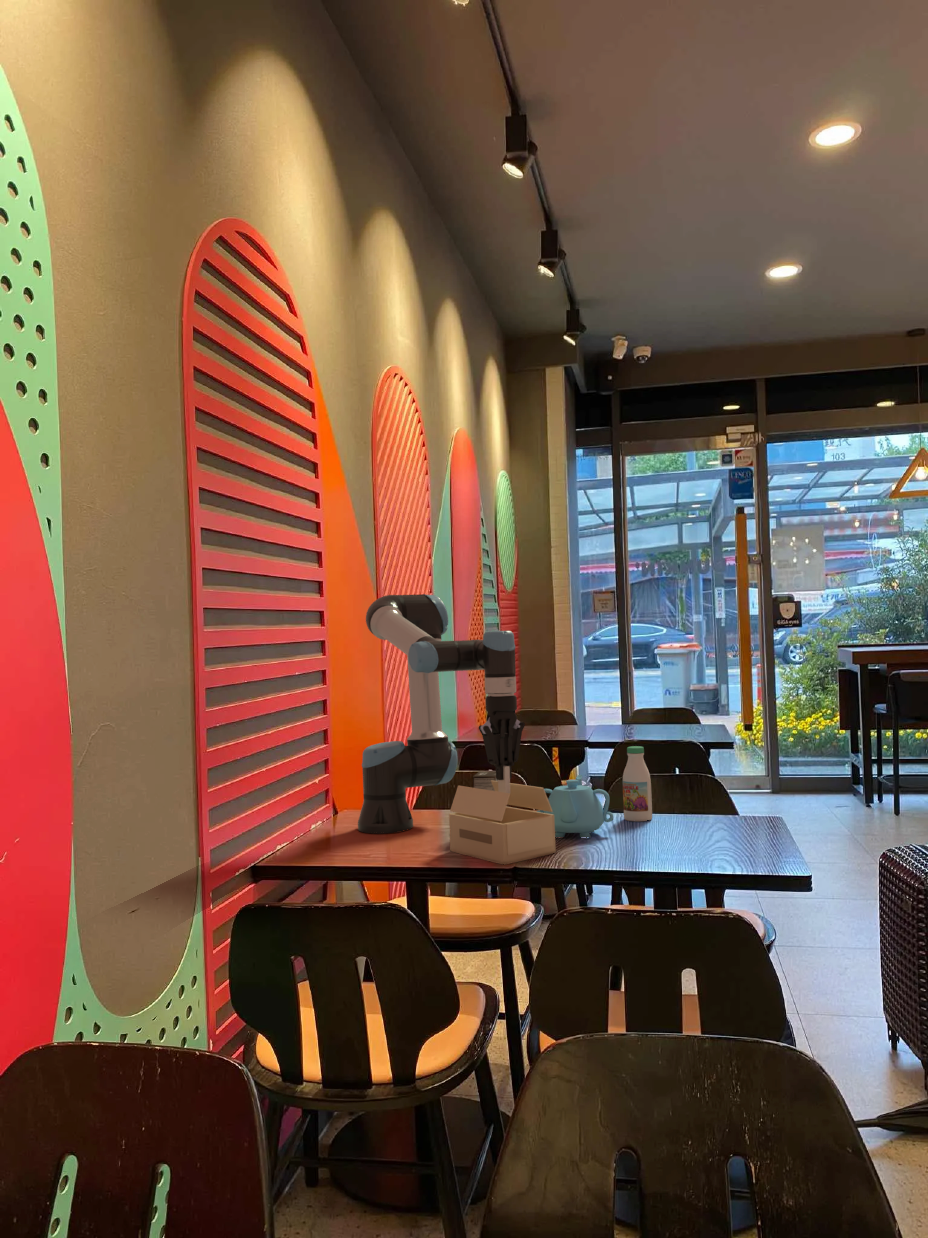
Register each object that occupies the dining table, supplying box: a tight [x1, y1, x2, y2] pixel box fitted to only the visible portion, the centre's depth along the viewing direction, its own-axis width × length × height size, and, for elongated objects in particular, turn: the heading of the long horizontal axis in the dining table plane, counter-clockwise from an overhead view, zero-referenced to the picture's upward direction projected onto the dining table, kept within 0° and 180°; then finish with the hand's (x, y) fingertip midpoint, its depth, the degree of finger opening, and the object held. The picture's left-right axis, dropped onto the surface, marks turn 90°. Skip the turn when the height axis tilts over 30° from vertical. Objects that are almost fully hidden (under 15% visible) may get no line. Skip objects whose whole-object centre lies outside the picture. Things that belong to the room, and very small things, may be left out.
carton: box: [448, 805, 557, 866], centre depth 226 cm, size 21×16×9 cm
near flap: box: [450, 785, 510, 821], centre depth 222 cm, size 19×1×6 cm, turn 38°
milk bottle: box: [622, 745, 653, 822], centre depth 261 cm, size 8×8×20 cm
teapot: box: [536, 774, 614, 838], centre depth 243 cm, size 16×20×14 cm
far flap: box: [491, 780, 553, 812], centre depth 230 cm, size 19×1×6 cm, turn 38°
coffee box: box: [472, 770, 498, 791], centre depth 247 cm, size 9×6×16 cm
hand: (504, 793), depth 227 cm, fingers closed
